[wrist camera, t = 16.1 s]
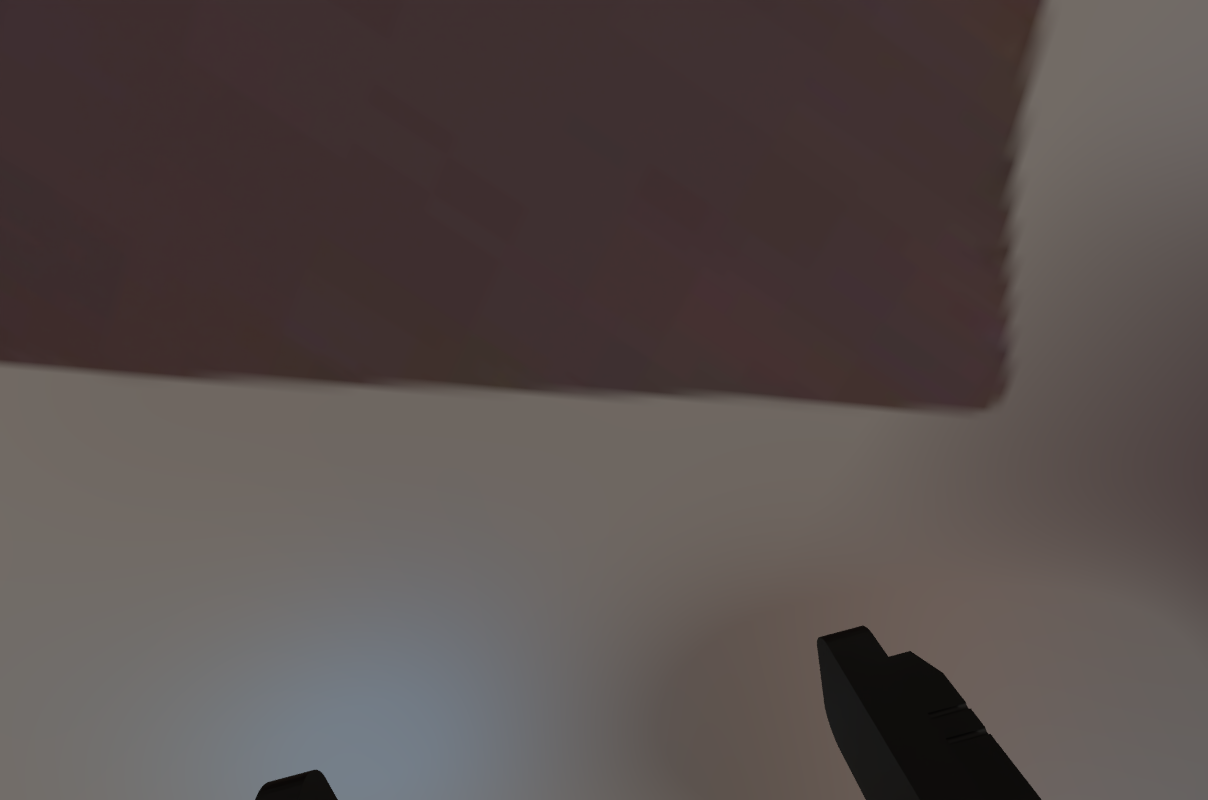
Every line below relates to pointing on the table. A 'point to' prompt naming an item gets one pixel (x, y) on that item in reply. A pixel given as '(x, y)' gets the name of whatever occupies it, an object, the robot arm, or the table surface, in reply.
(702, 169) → the table surface
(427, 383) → the table surface
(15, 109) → the table surface
